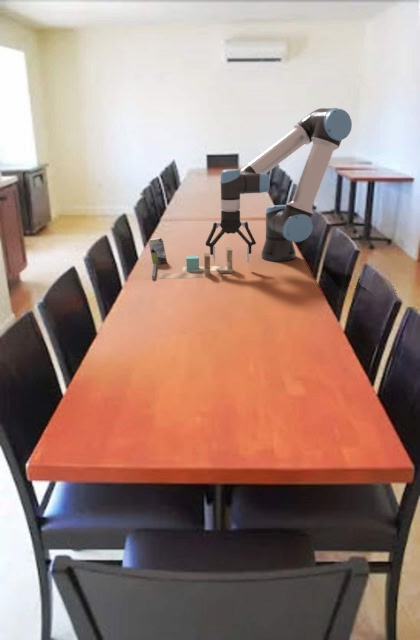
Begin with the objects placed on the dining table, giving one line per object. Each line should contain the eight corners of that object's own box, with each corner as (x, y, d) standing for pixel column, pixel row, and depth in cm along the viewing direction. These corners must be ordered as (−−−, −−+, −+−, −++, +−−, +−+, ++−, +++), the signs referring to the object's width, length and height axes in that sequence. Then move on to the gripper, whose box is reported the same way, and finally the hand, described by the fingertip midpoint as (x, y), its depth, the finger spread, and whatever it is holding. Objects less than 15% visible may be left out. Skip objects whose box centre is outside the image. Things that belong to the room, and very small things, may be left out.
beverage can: (164, 267, 238) (163, 239, 234) (148, 267, 240) (146, 239, 236) (168, 263, 244) (167, 236, 240) (152, 263, 246) (151, 236, 241)
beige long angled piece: (231, 267, 235) (231, 246, 232) (232, 272, 229) (232, 250, 226) (183, 269, 234) (182, 248, 231) (183, 274, 228) (182, 252, 225)
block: (198, 267, 233) (198, 255, 232) (199, 270, 229) (198, 258, 227) (186, 267, 233) (186, 255, 231) (186, 270, 229) (186, 258, 227)
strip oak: (209, 274, 226) (209, 252, 223) (210, 279, 220) (210, 256, 217) (159, 276, 226) (158, 254, 222) (159, 281, 219) (157, 258, 216)
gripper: (260, 207, 227) (259, 258, 235) (198, 209, 226) (199, 260, 234) (263, 210, 220) (262, 263, 228) (199, 212, 219) (200, 265, 227)
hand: (230, 262), depth 231 cm, fingers open, 13 cm apart
